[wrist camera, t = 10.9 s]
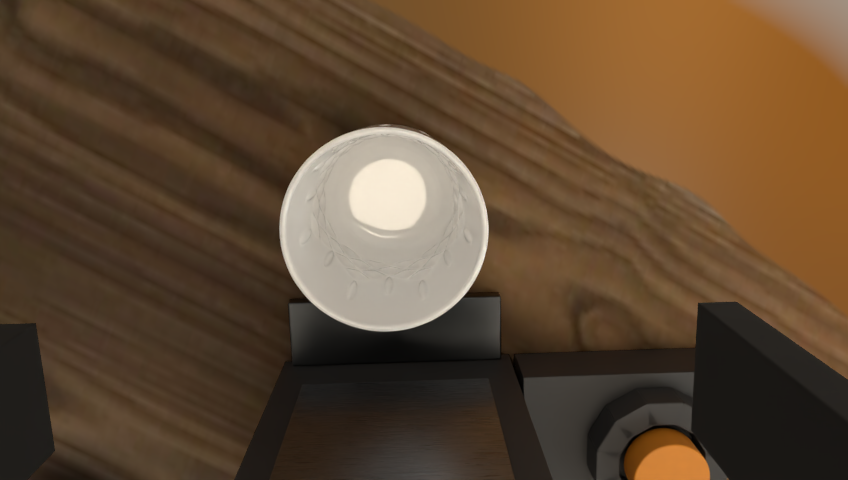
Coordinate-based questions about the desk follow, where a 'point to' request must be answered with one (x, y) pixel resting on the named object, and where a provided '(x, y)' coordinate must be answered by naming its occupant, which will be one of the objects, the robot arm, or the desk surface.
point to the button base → (606, 406)
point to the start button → (664, 457)
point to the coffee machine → (397, 403)
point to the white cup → (384, 228)
